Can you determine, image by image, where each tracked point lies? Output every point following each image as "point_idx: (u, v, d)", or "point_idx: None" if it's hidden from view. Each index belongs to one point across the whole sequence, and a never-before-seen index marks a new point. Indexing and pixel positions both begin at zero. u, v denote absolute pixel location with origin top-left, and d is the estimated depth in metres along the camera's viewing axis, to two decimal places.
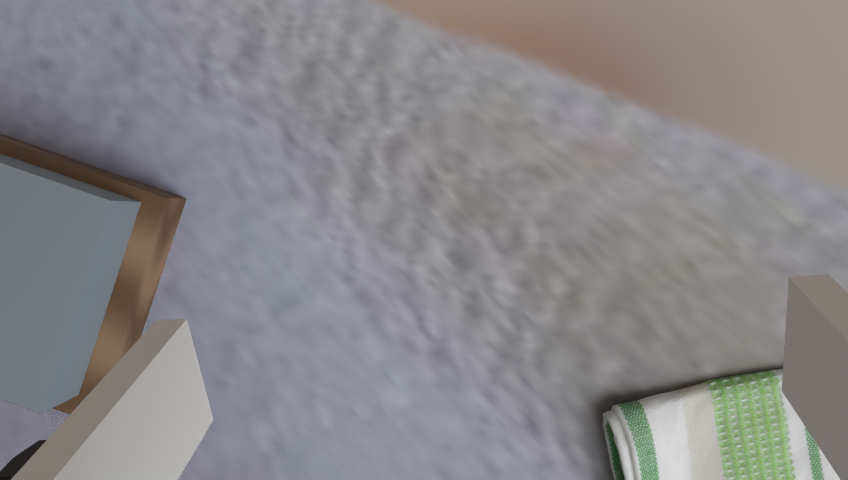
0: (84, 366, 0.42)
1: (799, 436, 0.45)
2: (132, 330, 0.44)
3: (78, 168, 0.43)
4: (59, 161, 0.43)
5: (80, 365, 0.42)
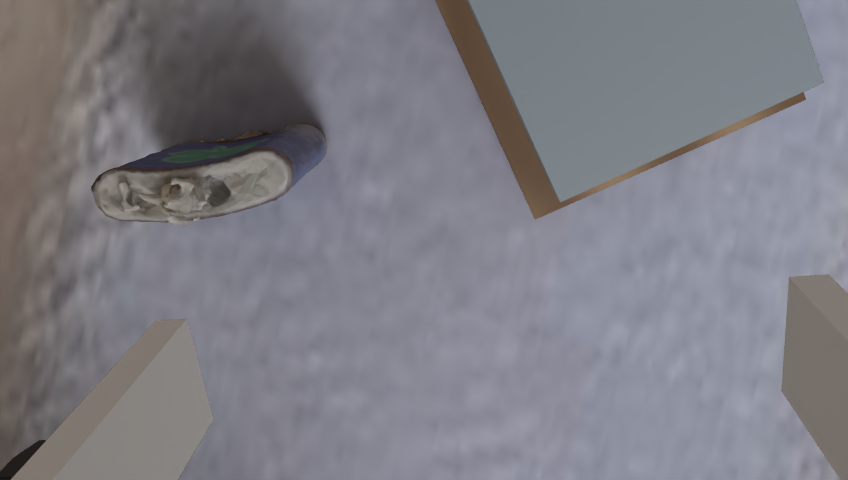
0: None
1: None
2: None
3: None
4: None
5: None
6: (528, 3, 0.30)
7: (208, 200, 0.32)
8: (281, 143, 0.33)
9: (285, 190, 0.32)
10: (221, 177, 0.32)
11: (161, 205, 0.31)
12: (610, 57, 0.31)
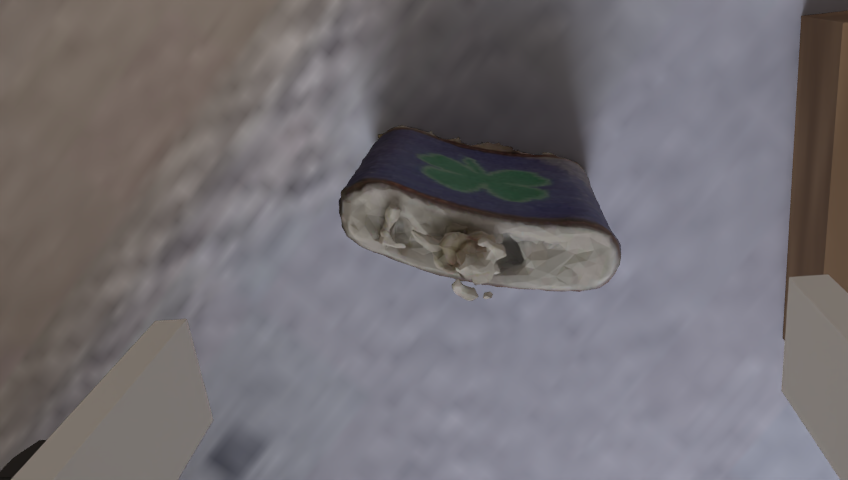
0: None
1: None
2: None
3: None
4: None
5: None
6: None
7: None
8: (597, 212, 0.24)
9: (599, 286, 0.23)
10: (519, 239, 0.23)
11: (436, 255, 0.23)
12: None
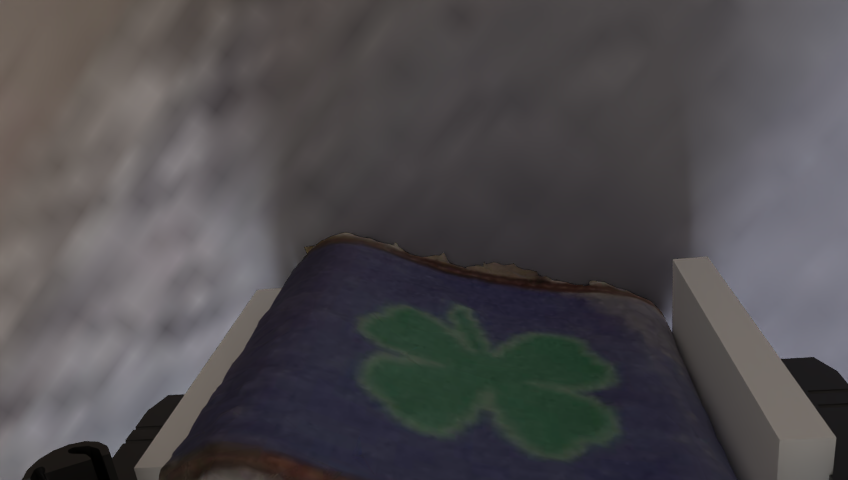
0: None
1: None
2: None
3: None
4: None
5: None
6: None
7: None
8: None
9: None
10: None
11: None
12: None
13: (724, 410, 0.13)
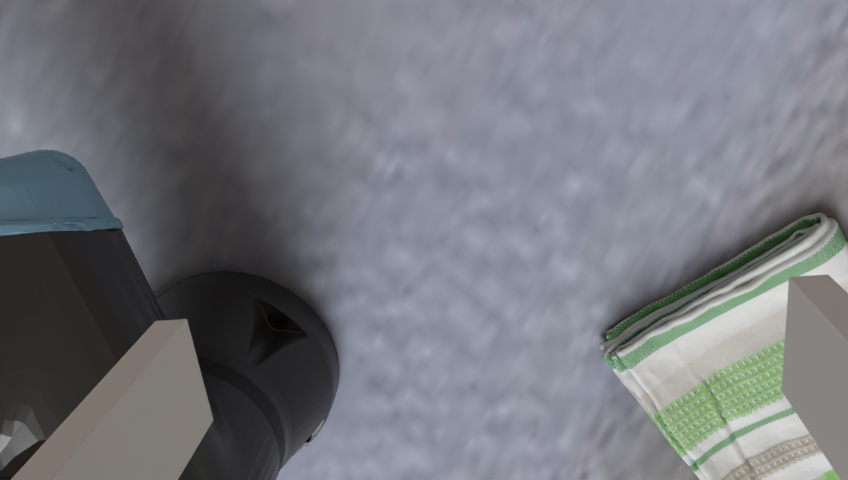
0: None
1: None
2: None
3: None
4: None
5: None
6: None
7: None
8: None
9: None
10: None
11: None
12: None
13: None
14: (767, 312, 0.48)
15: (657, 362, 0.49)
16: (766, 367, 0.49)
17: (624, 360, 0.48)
